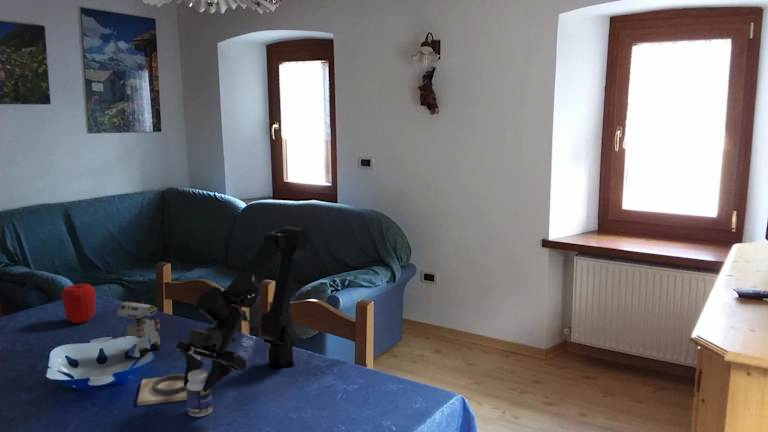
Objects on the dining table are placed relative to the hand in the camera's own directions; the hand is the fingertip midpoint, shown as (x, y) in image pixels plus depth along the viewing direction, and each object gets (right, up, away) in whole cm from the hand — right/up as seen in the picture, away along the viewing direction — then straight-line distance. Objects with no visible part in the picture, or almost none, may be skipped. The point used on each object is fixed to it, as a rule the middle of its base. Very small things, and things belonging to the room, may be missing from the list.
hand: (194, 388), depth 149 cm
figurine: (-28, 0, +39) cm, 48 cm away
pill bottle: (+1, -6, +3) cm, 7 cm away
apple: (-58, +5, +64) cm, 87 cm away
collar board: (-10, -4, +14) cm, 17 cm away
